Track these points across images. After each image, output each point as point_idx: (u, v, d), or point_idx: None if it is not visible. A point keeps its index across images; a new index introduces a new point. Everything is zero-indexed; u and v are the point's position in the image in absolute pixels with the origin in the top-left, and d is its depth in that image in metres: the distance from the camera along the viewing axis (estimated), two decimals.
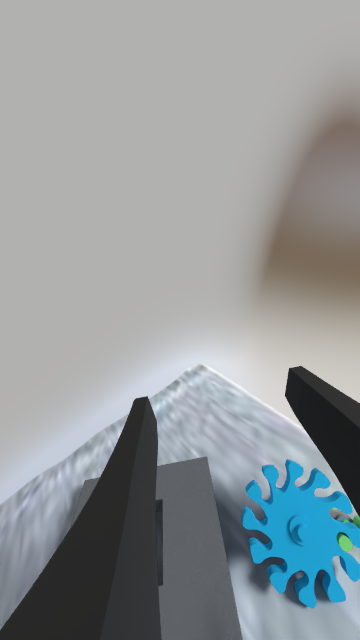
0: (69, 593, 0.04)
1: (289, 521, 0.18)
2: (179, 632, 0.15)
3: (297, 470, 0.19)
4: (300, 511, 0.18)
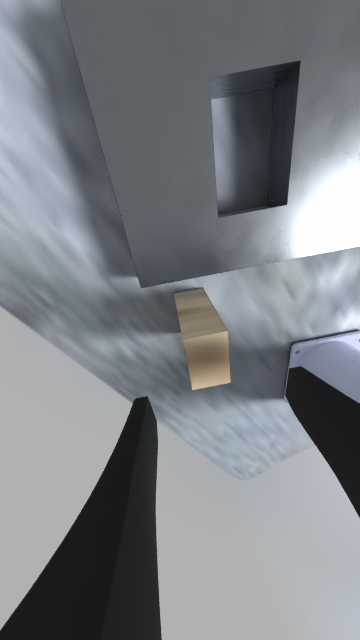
0: (69, 593, 0.04)
1: None
2: (301, 240, 0.14)
3: None
4: None
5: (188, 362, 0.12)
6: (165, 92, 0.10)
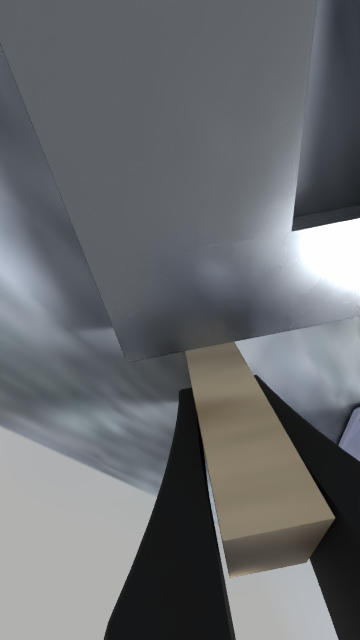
0: (176, 571, 0.04)
1: None
2: None
3: None
4: None
5: (229, 559, 0.05)
6: None
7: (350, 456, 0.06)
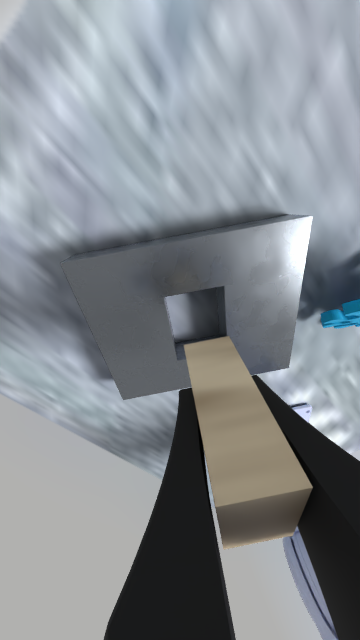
0: (176, 572, 0.04)
1: None
2: None
3: None
4: None
5: (222, 527, 0.06)
6: (134, 305, 0.14)
7: (350, 456, 0.06)
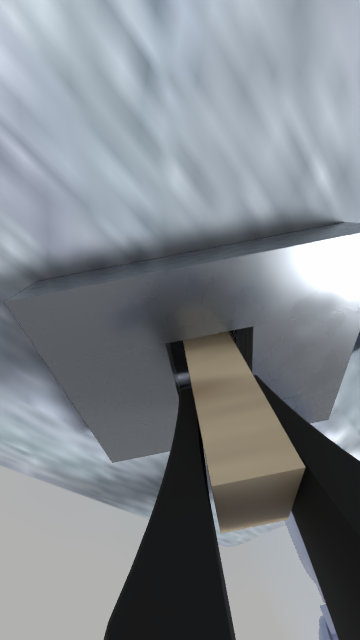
0: (176, 572, 0.04)
1: None
2: None
3: None
4: None
5: (218, 509, 0.06)
6: (122, 355, 0.10)
7: (350, 456, 0.06)
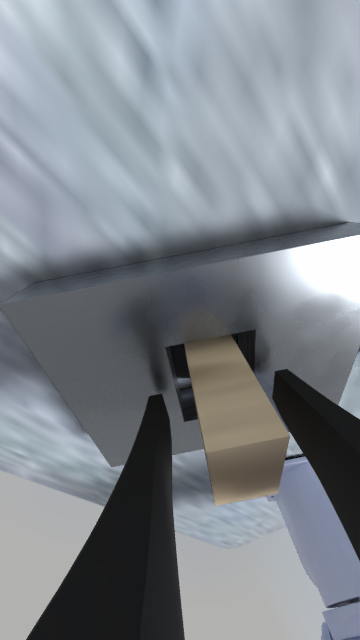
0: (103, 586, 0.04)
1: None
2: None
3: None
4: None
5: (212, 478, 0.07)
6: (121, 359, 0.10)
7: None
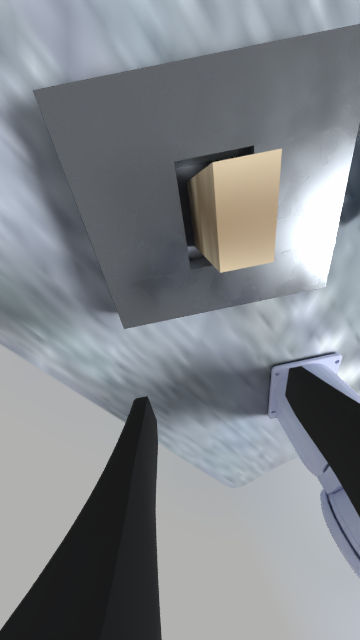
0: (69, 593, 0.04)
1: None
2: (269, 285, 0.15)
3: None
4: None
5: (218, 214, 0.08)
6: (136, 174, 0.11)
7: None
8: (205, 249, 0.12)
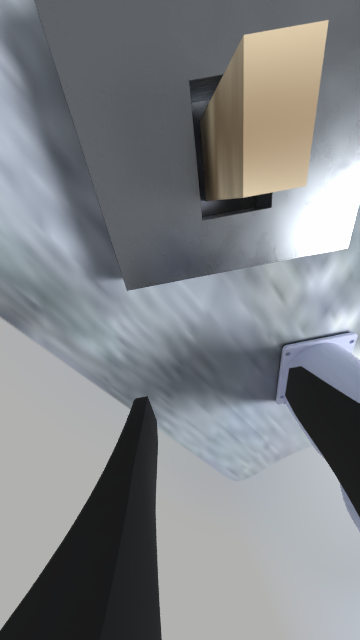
0: (69, 593, 0.04)
1: None
2: (287, 243, 0.14)
3: None
4: None
5: (245, 113, 0.07)
6: (144, 95, 0.10)
7: None
8: (221, 188, 0.10)
